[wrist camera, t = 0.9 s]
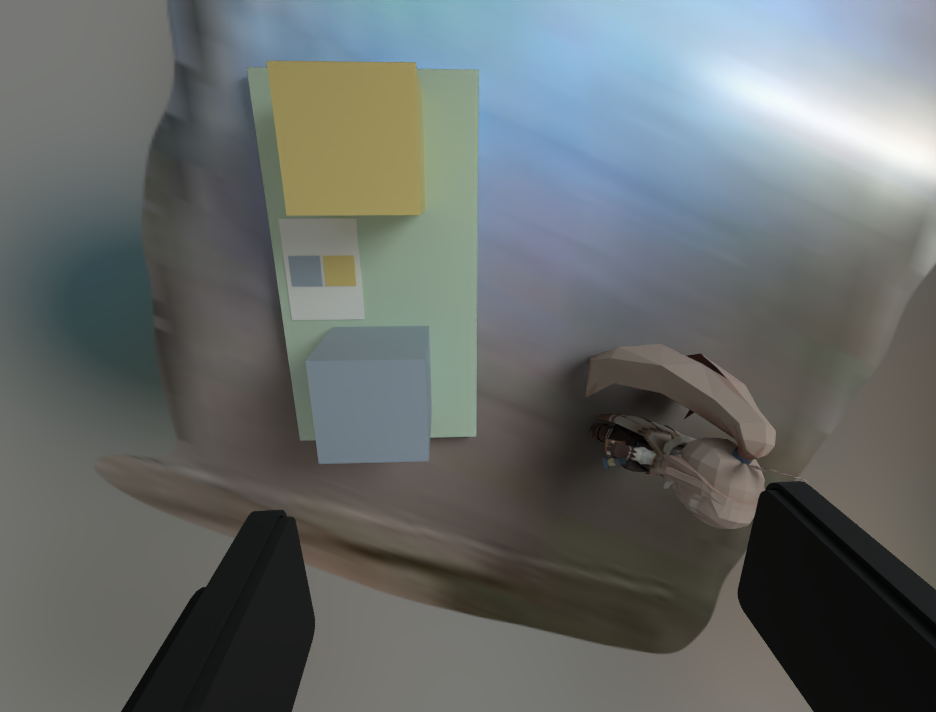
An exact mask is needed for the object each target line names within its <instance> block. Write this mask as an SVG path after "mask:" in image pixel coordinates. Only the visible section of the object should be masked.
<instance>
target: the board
mask: <svg viewBox="0 0 936 712" xmlns="http://www.w3.org/2000/svg"><path fill="white" fill-rule="evenodd" d="M417 71H418V75H419V80H420V84H421V88H422V101H423V134H424V167H425V200H426V209H425V211H424V212H423V213H422V214H421V215H314V216H287V215H286V207H285V200H284V192H283V184H282V176H281V169H280V161H279V153H278V146H277V138H276V130H275V123H274V115H273V107H272V99H271V92H270V84H269V76H268V69H267V67H247V74H248V81H249V88H250V95H251V102H252V109H253V116H254V123H255V130H256V137H257V144H258V151H259V158H260V165H261V172H262V179H263V186H264V193H265V200H266V207H267V214H268V221H269V228H270V235H271V242H272V249H273V256H274V263H275V270H276V277H277V284H278V291H279V298H280V305H281V312H282V319H283V326H284V333H285V340H286V347H287V353H288V360H289V367H290V374H291V381H292V388H293V395H294V402H295V409H296V416H297V423H298V430H299V437H300V441H308V440H316V438H315V431H314V423H313V415H312V408H311V400H310V392H309V384H308V377H307V369H306V360H307V359H308V357H309V356H310V355H311V354H312V352H313V351H314V350H315V349H316V347H317V346H318V345H319V344H320V342H321V341H322V340H323V339H324V337H325V336H326V335H327V334H328V332H329V331H330V330H331V329H332V327H375V326H429V332H430V365H431V398H432V418H431V435H430V438H434V437H476V393H477V242H478V91H479V70H461V69H417Z"/></svg>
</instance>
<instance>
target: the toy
mask: <svg viewBox="0 0 936 712" xmlns="http://www.w3.org/2000/svg"><path fill="white" fill-rule="evenodd" d="M612 384H618V385H623V386H628V387H633V388H638V389H643V390H648V391H653V392H658V393H662V394H664V395H665V396H667V397H669V398H670V399H672V400H674V401H676V402H677V403H679V404H681V405H683V406H684V407H686V408H688V409H690V410H689V412H688V413H687V415H686V417H685V418H687V417H688V416H690V415H691V414H693V413H694V412H695V413H697V414H698V415H700V416H701V417H703V418H704V419H706V420H707V421H709V422H710V423H712V424H713V425H715V426H716V427H718V428H719V429H721V430H722V431H724V432H725V433H727V434H728V435H730V436H731V437H733V438H734V439H736V441H737V444H738V445H737V444H736V443H734V442H732V441H730V440H728V439H721V438H701V439H694V438H691V437H689V436H684V435H682V434H681V433H679V432H677V431H676V430H674V429H672V428H671V427H669V426H663V425H660V424H658V423H655V422H653V421H650V420H648V419H645V418H640V417H636V416H630V415H621V416H623V417H621V416H618V415H620V414H618V415H614V414H601V415H600V416H598V417H597V418H598V419H601V420H607V421H610V422H613V423H616V424H615V426H614V427H612V426H609V425H607V424H602V425H600V424H596V425H593V426H592V430H591V436H592V437H594V438H597V439H598V440H600V441H602V442H604V443H605V452H606V453H607V454H608V455H611V456H612V458H610V459H607V457H604V458H602V465H603V466H604V468H605V469H608V468H610V466H618V467H620V466H621V465H622V466H623V467H624V468H625V469H628V470H631V471H635V472H647V473H645V474H651V477H652V478H653V476H654V475H655V474H656V475H661V476H663V477H664V479H665V485H664V488H665V489H667V488H668V487H669V486H670V485H672V487H673V488H674V490H675V492H676V494H677V497H678V498H679V500H680V501H681V502H682V503H683V504H684V505H685V506H686V507H687V509H688V510H690V511H691V512H690V513H691V514H692V515H694V516H695V517H696V518H698V519H699V520H701V521H703V522H705V523H707V524H709V525H711V526H713V527H715V528H722V529H737V528H740V527H744V526H748V525H749V524H750V523H751V521H752V519H753V518H754V516H755V511H756V507H757V503H758V498H759V495H760V493H761V492H762V491H765V488H764V481H765V479H764V476H763V474H762V471H765V470H764V469H767V468H763V467H760V466H759V464H758V463H757V461H756V459H757V458H760V457H762V456H765V455H767V454H768V453H769V452H770V451H771V450H772V448H773V447H774V446H775V437H776V431H775V429H774V428H773V427H772V426H771V424H770V423H769V422H768V421H767V419H766V418H765V417H764V416H763V415H762V413H761V412H760V411H759V409H758V408H757V406H756V404H755V402H754V400H753V398H752V396H751V395H750V393H749V391H748V389H747V387H746V385H745V384H743V383H742V382H740V381H739V380H738V379H736V378H735V377H733V376H732V375H730V374H729V373H728V372H726V371H725V370H723V369H722V368H720V367H719V366H718V365H716V364H715V363H713V362H712V361H710V360H709V359H708V358H706V357H705V356H703V355H702V354H695V355H688V356H685V355H683V354H681V353H679V352H677V351H675V350H672V349H670V348H668V347H666V346H664V345H662V344H654V345H638V346H623V347H617V348H615V349H613V350H610V351H607V352H604V353H600V354H597V355H594V356H591V357H589V366H588V377H587V388H586V397H588V396H590V395H592V394H594V393H596V392H598V391H600V390H602V389H604V388H606V387H608V386H610V385H612ZM624 417H626V418H624ZM627 418H628V419H627ZM685 418H684V419H685ZM629 419H630V420H629ZM649 422H653V423H654V424H655V425H656V426H657V427H655V426H654V425H652V424H651V423H649ZM761 468H763V469H761ZM767 470H770V471H773V472H777V473H780V474H784V473H781V472H778V471H774V470H771V469H767ZM765 472H768V471H765ZM784 475H787V476H790V477H794V478H797V479H801V478H798V477H795V476H791V475H788V474H784ZM801 480H804V479H801ZM804 481H806V480H804Z"/></svg>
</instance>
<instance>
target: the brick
mask: <svg viewBox="0 0 936 712" xmlns="http://www.w3.org/2000/svg"><path fill="white" fill-rule="evenodd" d="M267 69H268V76H269V84H270V92H271V99H272V107H273V115H274V123H275V130H276V138H277V146H278V153H279V161H280V169H281V176H282V184H283V192H284V200H285V207H286V215H287V216H314V215H421V214H422V213H423V212H424V211H425V209H426V200H425V167H424V134H423V101H422V88H421V84H420V80H419V75H418V71H417V67H416V63H415V62H325V61H267Z"/></svg>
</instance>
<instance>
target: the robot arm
mask: <svg viewBox="0 0 936 712" xmlns="http://www.w3.org/2000/svg"><path fill="white" fill-rule="evenodd" d="M738 599H739V603H740V605H741V608H742V609H743V611H744V613H745V614H746V615H747V617H748V618H749V620H750V621H751V623H752V624H753V625H754V627H755V628H756V630H757V631H758V633H759V634H760V635H761V637H762V638H763V640H764V641H765V643H766V644H767V645H768V647H769V648H770V650H771V651H772V653H773V654H774V655H775V657H776V658H777V660H778V661H779V663H780V664H781V666H782V667H783V668H784V670H785V671H786V673H787V674H788V676H789V677H790V678H791V680H792V681H793V683H794V684H795V686H796V687H797V688H798V690H799V691H800V693H801V694H802V696H803V697H804V699H805V700H806V701H807V703H808V704H809V706H810V707H811V709H812V710H813V711H814V712H936V590H935V589H934V588H933V587H932V586H930V585H929V584H928V583H927V582H926V581H924V580H923V579H922V578H921V577H920V576H918V575H917V574H916V573H915V572H914V571H912V570H911V569H910V568H908V567H907V566H906V565H905V564H904V563H903V562H901V561H900V560H899V559H898V558H897V557H895V556H894V555H893V554H892V553H890V552H889V551H888V550H887V549H886V548H884V547H883V546H882V545H881V544H880V543H878V542H877V541H876V540H875V539H874V538H872V537H871V536H870V535H869V534H867V533H866V532H865V531H864V530H863V529H862V528H860V527H859V526H858V525H857V524H855V523H854V522H853V521H852V520H851V519H849V518H848V517H847V516H846V515H844V514H843V513H842V512H841V511H840V510H838V509H837V508H836V507H835V506H834V505H832V504H831V503H830V502H829V501H827V500H826V499H825V498H824V497H823V496H822V495H820V494H819V493H818V492H817V491H816V490H814V489H813V488H812V487H811V486H810V485H808V484H806V483H805V482H801V481H793V482H775V483H770V484H769V485H768V486H767V487H766V490H765V491H762V492H761V493H760V495H759V498H758V503H757V507H756V511H755V516H754V520H753V525H752V529H751V534H750V538H749V542H748V547H747V551H746V556H745V560H744V565H743V569H742V573H741V578H740V583H739V587H738ZM314 629H315V616H314V611H313V606H312V601H311V596H310V591H309V586H308V581H307V576H306V571H305V566H304V561H303V556H302V551H301V546H300V540H299V535H298V530H297V525H296V521H295V519H294V517H287V516H286V513H285V512H284V510H269V511H254V512H252V513H250V515H249V516H248V517H247V519H246V521H245V522H244V524H243V526H242V527H241V529H240V531H239V533H238V534H237V536H236V538H235V539H234V541H233V543H232V544H231V546H230V548H229V549H228V551H227V553H226V555H225V556H224V558H223V559H222V561H221V563H220V565H219V566H218V568H217V569H216V571H215V573H214V575H213V576H212V578H211V580H210V581H209V583H208V585H207V586H206V587H202V588H201V589H199V590H198V591H196V593H195V594H194V595H193V596H192V598H191V599H190V601H189V602H188V604H187V605H186V607H185V609H184V610H183V612H182V614H181V615H180V617H179V618H178V620H177V622H176V623H175V625H174V627H173V629H172V630H171V632H170V633H169V635H168V636H167V638H166V640H165V641H164V643H163V645H162V646H161V648H160V649H159V651H158V653H157V654H156V656H155V658H154V659H153V661H152V662H151V664H150V666H149V667H148V669H147V671H146V672H145V674H144V675H143V677H142V679H141V680H140V682H139V683H138V685H137V687H136V688H135V690H134V692H133V693H132V695H131V696H130V698H129V700H128V701H127V703H126V705H125V706H124V708H123V709H122V711H121V712H292V709H293V705H294V702H295V698H296V695H297V692H298V688H299V685H300V681H301V678H302V675H303V671H304V668H305V664H306V661H307V657H308V654H309V651H310V647H311V643H312V640H313V636H314Z"/></svg>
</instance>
